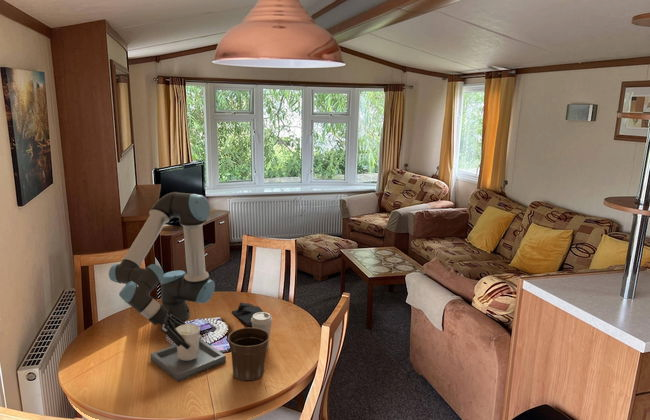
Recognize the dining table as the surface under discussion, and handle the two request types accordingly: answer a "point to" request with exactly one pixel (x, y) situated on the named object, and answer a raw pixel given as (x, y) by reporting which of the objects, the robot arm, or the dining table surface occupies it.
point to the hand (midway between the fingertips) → (195, 345)
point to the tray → (186, 369)
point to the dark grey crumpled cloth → (246, 312)
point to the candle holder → (192, 336)
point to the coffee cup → (262, 322)
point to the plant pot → (248, 352)
